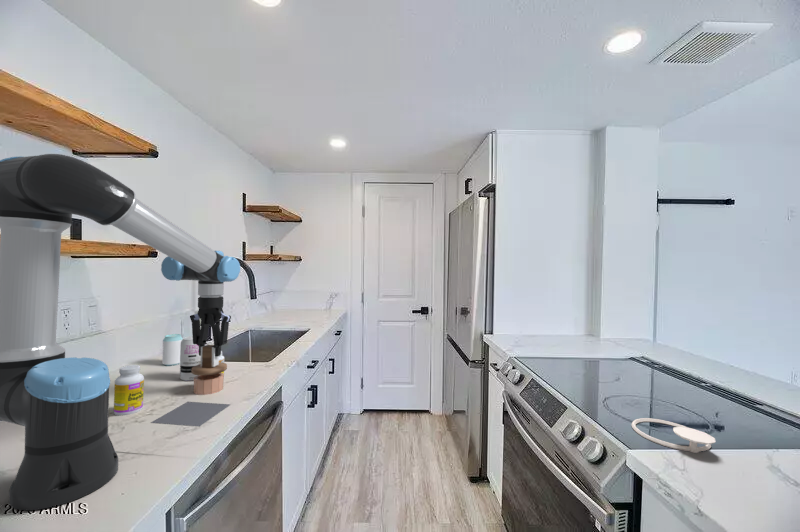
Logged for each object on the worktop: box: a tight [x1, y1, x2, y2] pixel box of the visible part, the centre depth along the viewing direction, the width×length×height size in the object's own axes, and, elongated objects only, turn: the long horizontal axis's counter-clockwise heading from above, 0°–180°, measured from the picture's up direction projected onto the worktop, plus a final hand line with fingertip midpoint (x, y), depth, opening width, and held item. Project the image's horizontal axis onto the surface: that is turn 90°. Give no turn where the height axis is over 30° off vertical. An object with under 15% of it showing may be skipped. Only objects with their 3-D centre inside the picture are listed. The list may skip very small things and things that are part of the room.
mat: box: [150, 401, 231, 428], centre depth 97 cm, size 14×14×1 cm
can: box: [161, 333, 184, 367], centre depth 143 cm, size 7×7×12 cm
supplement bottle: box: [113, 364, 145, 416], centre depth 98 cm, size 7×7×13 cm
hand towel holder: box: [631, 417, 716, 454], centre depth 90 cm, size 17×4×21 cm
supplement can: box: [179, 335, 207, 382], centre depth 127 cm, size 8×8×15 cm
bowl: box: [193, 372, 225, 396], centre depth 114 cm, size 9×9×5 cm
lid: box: [192, 344, 228, 375], centre depth 114 cm, size 10×10×8 cm
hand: (209, 365), depth 114 cm, fingers closed on lid, 3 cm apart
